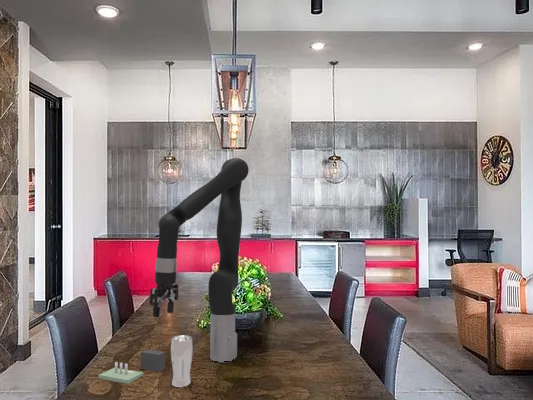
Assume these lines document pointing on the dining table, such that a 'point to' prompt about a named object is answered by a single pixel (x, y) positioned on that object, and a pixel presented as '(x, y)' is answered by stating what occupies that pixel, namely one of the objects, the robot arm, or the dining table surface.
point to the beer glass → (181, 359)
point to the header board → (120, 374)
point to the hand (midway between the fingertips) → (163, 314)
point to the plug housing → (153, 360)
